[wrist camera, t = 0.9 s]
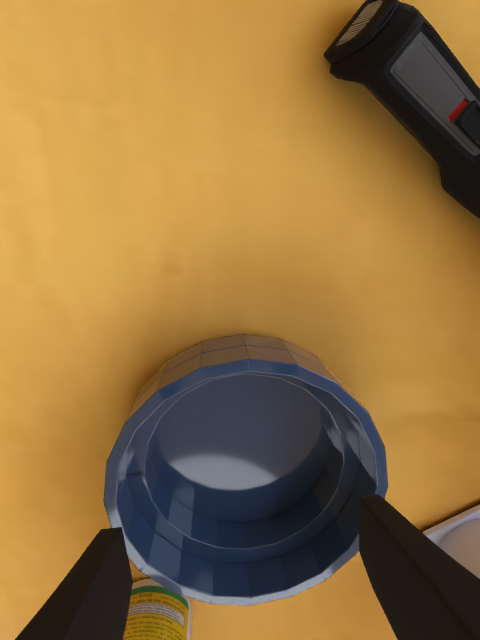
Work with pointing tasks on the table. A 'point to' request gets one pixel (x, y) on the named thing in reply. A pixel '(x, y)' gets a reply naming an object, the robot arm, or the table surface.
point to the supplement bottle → (157, 613)
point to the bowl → (243, 472)
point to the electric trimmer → (416, 88)
